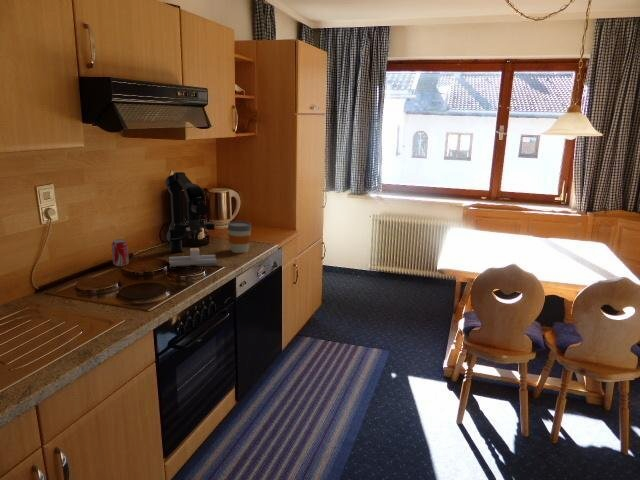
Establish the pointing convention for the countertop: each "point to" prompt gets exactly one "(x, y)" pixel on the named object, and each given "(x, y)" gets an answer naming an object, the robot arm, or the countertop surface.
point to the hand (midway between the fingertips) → (194, 243)
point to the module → (194, 254)
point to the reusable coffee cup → (239, 236)
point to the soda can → (120, 252)
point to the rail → (193, 261)
